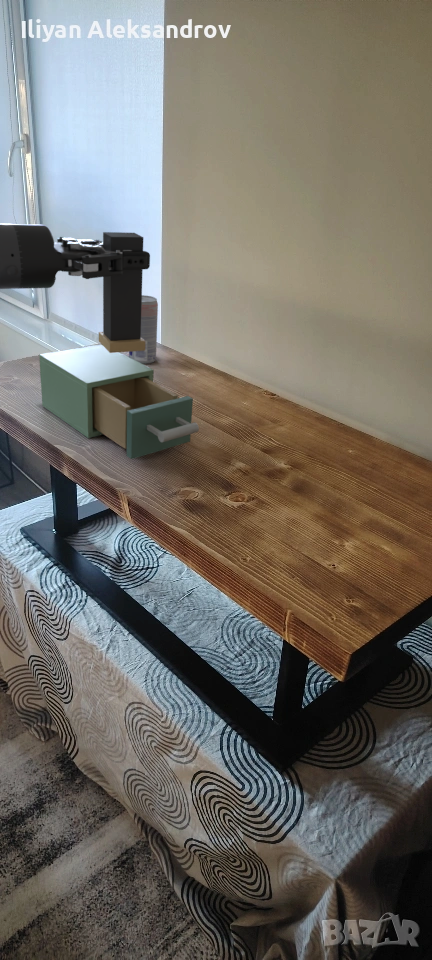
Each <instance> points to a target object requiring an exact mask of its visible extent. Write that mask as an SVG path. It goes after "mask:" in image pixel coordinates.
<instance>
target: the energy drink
mask: <svg viewBox="0 0 432 960" xmlns="http://www.w3.org/2000/svg"><path fill="white" fill-rule="evenodd" d="M158 309H159V302H158V299H157V298H156V297H154V296H151V295H145V294H144V295H143V294H142V306H141V338H142V339H144V340H145V351H131V352H128V357H130V358H132V359H134V360H135V361H137V362H139V363H141V364H143V365H147V364H151V363H154V362H155V361H156V360H157V347H158V346H157V344H158V342H157V340H158V314H159V313H158V312H159V310H158Z"/></svg>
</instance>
